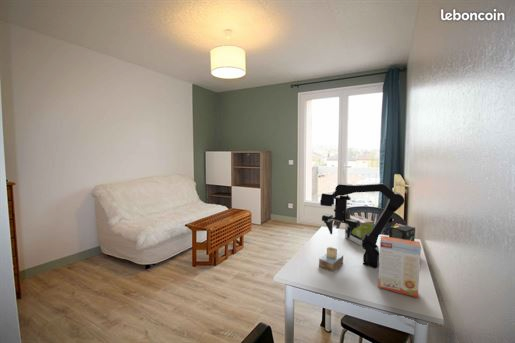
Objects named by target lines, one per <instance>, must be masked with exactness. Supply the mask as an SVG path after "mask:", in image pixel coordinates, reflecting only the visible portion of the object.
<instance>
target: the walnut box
mask: <svg viewBox="0 0 515 343" xmlns="http://www.w3.org/2000/svg"><path fill="white" fill-rule="evenodd" d="M343 263H344V256H343V257H342V258H341V259H339V260H338V261H337V262H335V263H334V264H330V263H327V262H324V261H322V260H319V259H318V267H319V268H322V269H324V270H326V271H329V272H334V271H335V270H336V269H338V267H340V266H342V265H343Z"/></svg>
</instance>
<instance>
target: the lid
mask: <svg viewBox="0 0 515 343" xmlns="http://www.w3.org/2000/svg"><path fill="white" fill-rule="evenodd" d="M342 257H343V258H344V254H341V253H337V258H336V259H330V258H327V253H326V254H324V255H322V256H321V257H319V259H318V261H319V260H322V261H324V262H327V263H330V264H334V263H335V262H337V261H338V260H339V259H341V258H342Z"/></svg>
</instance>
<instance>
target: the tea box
mask: <svg viewBox="0 0 515 343" xmlns="http://www.w3.org/2000/svg"><path fill="white" fill-rule="evenodd" d="M352 219H354V220H359V221H360V226H359V227H357V228H355V229H353V231H352V233H351V235H350V237H349V239H348V240H350V241H352V242H354V243H355V244H357V245H358V246H361V247H362V237H363V236H364V234H365V232H368V233H369V232H370V231H371V230H372V228H373V227H374V225H375V221H373V220H372V219H371V220H370V219H368V218H365V217H363V216H360V215H358V214H356V215H350V219H346V220H349V221H350V220H352ZM344 224H345V226H344V228H345V229H344V237H345V238H347V228H348V227H349V225H348V224H346V223H344Z"/></svg>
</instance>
